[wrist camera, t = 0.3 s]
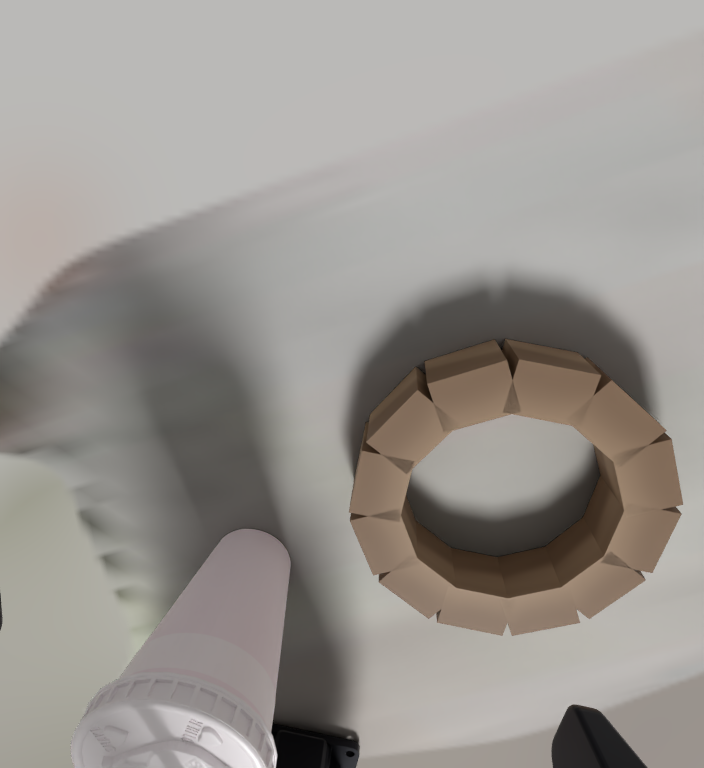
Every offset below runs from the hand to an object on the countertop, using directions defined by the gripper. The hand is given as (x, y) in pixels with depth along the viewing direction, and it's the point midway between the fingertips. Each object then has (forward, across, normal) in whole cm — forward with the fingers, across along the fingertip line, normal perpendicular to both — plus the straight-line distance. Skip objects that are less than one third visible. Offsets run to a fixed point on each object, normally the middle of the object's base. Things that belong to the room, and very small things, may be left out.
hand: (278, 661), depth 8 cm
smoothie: (+14, +3, +10) cm, 18 cm away
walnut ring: (+14, -7, +3) cm, 16 cm away
